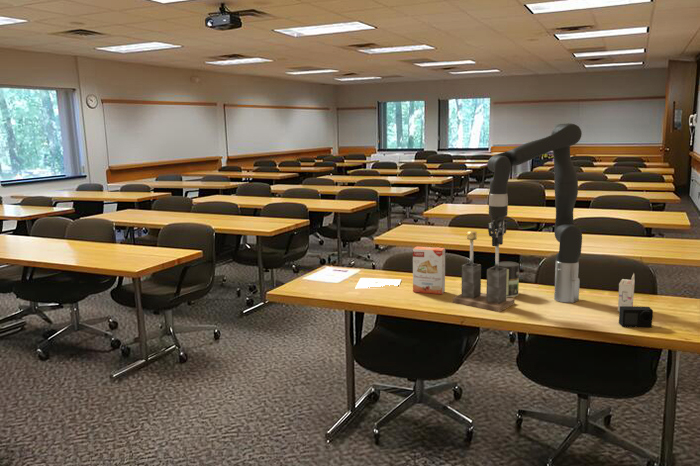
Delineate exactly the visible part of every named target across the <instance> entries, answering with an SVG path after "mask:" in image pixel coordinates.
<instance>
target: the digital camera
mask: <svg viewBox="0 0 700 466" xmlns="http://www.w3.org/2000/svg"><path fill="white" fill-rule="evenodd" d="M653 312H654V311H653V309H652V308H651V307H650V306H639V305H638V306H636V305H635V306H634V305H633V306H620V311H619V314H618V325H620V326H621V327H622V328H648V329H649V328H650V329H651V328H652V327H653V326H652V325H653V319H654V315H653Z"/></svg>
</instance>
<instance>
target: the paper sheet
mask: <svg viewBox="0 0 700 466" xmlns="http://www.w3.org/2000/svg"><path fill="white" fill-rule="evenodd" d="M401 282H402V279H401V278H399V279H398V278H397V279H395V278H374V277H360V278H359V280H358V282H356V283H357V284H356V285H355V288H354V289H371V288H370V287H381V286H382V287H383V286H385V285H389V286H390V285H394V286H398V285H399V286H400V284H401ZM368 287H369V288H368Z"/></svg>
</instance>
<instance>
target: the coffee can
mask: <svg viewBox="0 0 700 466" xmlns="http://www.w3.org/2000/svg"><path fill="white" fill-rule="evenodd" d="M499 267H500V268H507V280H506V298H515V297H518V296H519V294H520V293H519V284H520V282H519V280H520V263H519V262H515V261H507V260H506V261H503V260H502V261H499Z"/></svg>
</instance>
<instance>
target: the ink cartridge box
mask: <svg viewBox="0 0 700 466" xmlns="http://www.w3.org/2000/svg"><path fill="white" fill-rule="evenodd" d="M635 283H636V282H635V273H633V274H632V276H631V279H626V278H625V279H624V278H622V279H621V280H620V282H619V283H618V303H617V305H618V306H617V312H619V311H620V306H634V295H635Z"/></svg>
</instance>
